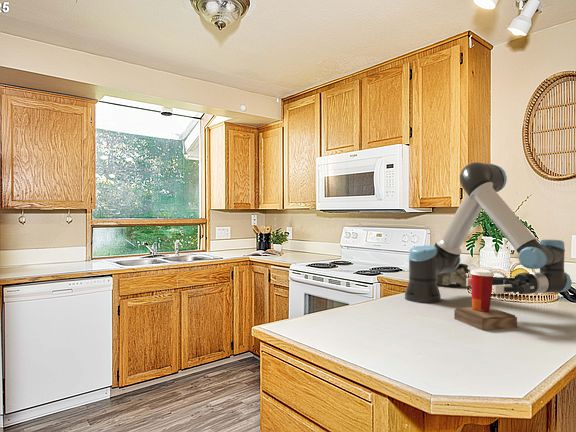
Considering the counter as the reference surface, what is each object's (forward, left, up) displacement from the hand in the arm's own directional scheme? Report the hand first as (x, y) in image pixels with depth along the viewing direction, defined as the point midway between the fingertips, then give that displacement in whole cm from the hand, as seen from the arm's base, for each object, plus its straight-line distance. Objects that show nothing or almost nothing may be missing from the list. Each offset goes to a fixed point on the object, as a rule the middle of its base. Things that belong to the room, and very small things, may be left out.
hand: (480, 285), depth 139 cm
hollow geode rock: (-5, +73, -14) cm, 75 cm away
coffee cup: (+13, +56, -13) cm, 59 cm away
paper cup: (+1, +4, -9) cm, 10 cm away
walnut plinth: (+2, +1, -13) cm, 13 cm away
